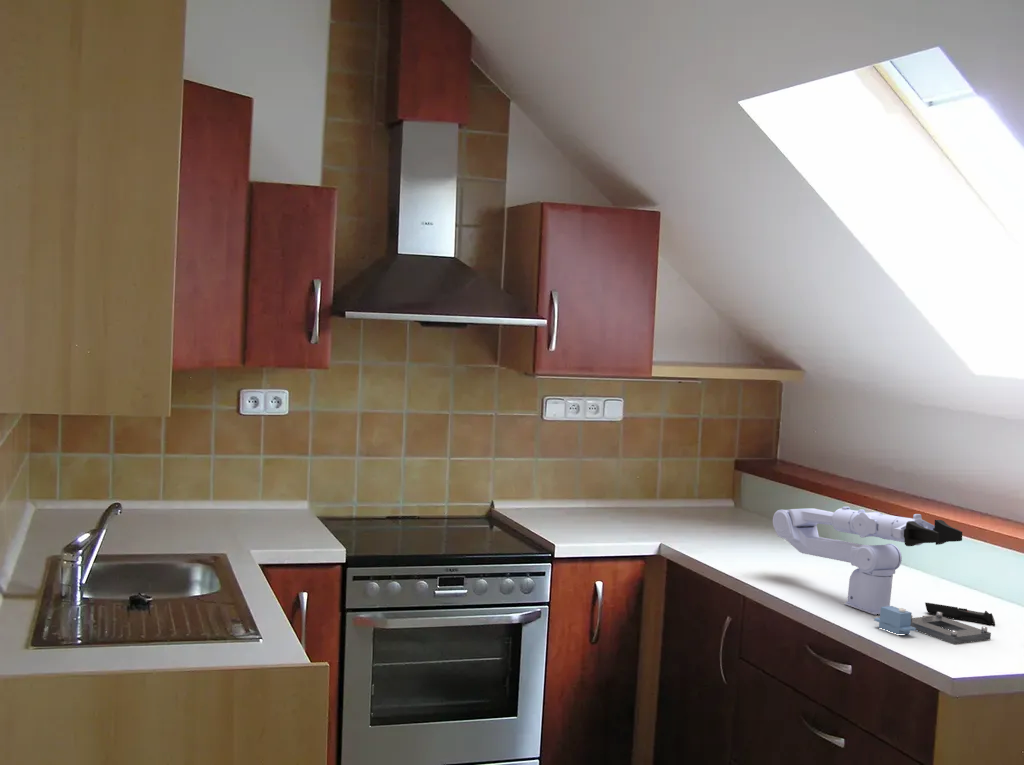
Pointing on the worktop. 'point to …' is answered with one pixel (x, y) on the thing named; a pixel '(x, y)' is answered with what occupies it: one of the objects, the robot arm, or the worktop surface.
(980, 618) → the electric trimmer
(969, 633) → the plate
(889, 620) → the servo
